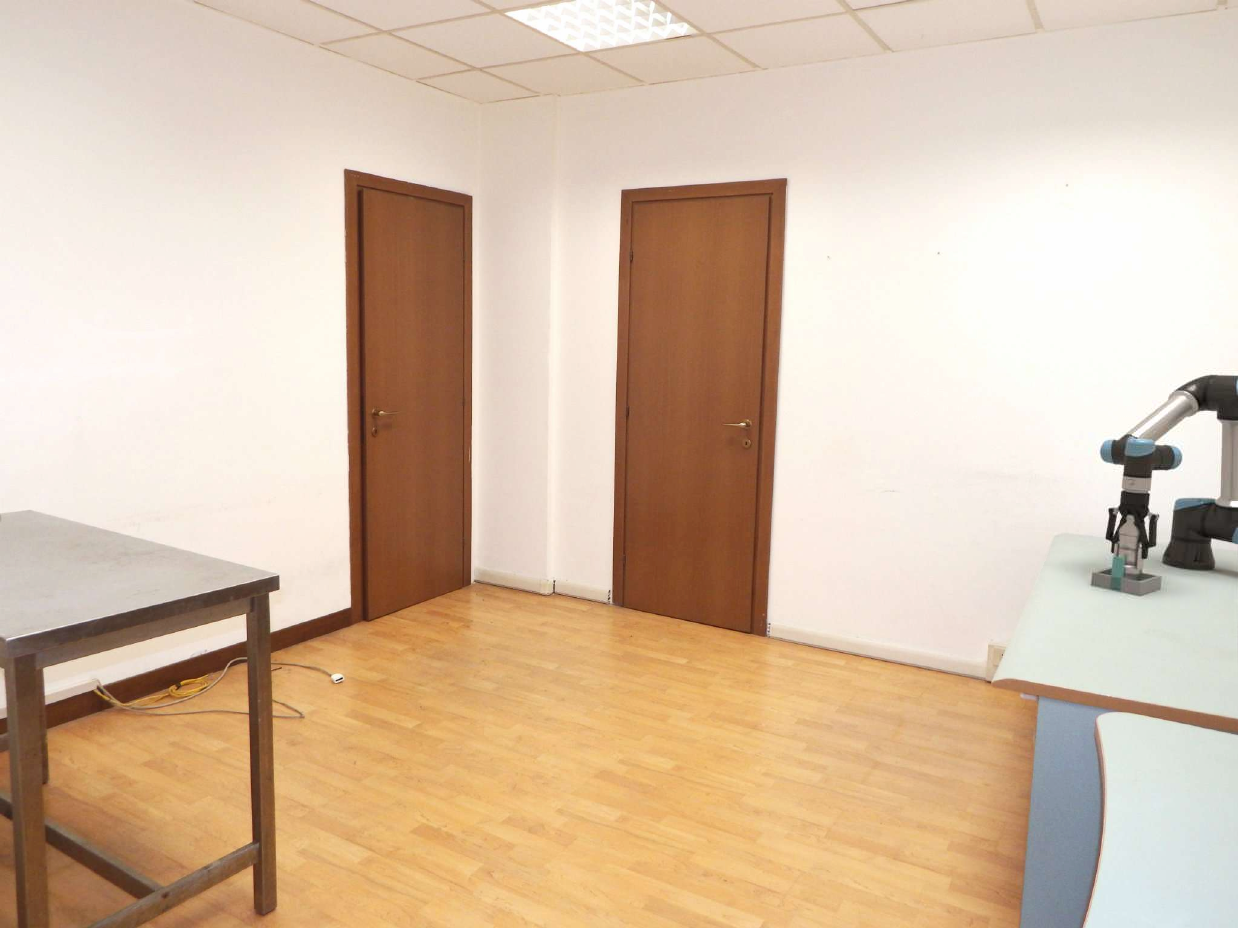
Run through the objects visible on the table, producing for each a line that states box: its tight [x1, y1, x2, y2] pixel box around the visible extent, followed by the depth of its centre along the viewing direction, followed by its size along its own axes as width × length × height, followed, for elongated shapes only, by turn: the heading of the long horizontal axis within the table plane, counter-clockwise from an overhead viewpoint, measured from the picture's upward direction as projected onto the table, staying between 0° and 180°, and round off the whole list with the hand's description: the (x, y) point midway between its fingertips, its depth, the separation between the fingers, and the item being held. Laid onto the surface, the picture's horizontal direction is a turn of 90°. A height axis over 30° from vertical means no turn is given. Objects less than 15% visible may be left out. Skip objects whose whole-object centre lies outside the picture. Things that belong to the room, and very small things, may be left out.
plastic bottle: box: [1118, 514, 1141, 580], centre depth 272 cm, size 6×7×20 cm
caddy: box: [1090, 555, 1163, 597], centre depth 273 cm, size 14×14×10 cm
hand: (1127, 566), depth 273 cm, fingers closed on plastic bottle, 6 cm apart
